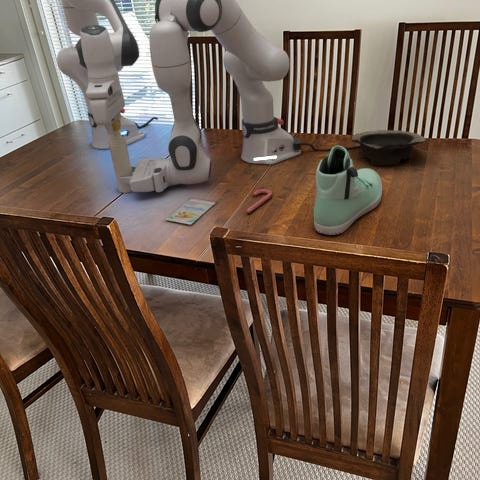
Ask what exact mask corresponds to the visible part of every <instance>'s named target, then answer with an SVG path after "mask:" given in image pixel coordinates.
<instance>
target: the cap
mask: <svg viewBox="0 0 480 480" xmlns="http://www.w3.org/2000/svg"><path fill="white" fill-rule="evenodd" d="M111 125H112V128H114V131H117V130H120V129H121V127H120V123H119V121H118V120H113V121H111Z"/></svg>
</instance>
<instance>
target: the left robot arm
mask: <svg viewBox="0 0 480 480" xmlns="http://www.w3.org/2000/svg"><path fill="white" fill-rule="evenodd" d="M60 1H61V5H62V9H63V13H64V17H65V18H64V19H65V21H66V25H67V28H68V30H69V31H70V32H71V33H72V34H73V35H75V36H78V37H80V38H79V39H78V40H77V42H76V44H75V45H73V46H72V45H71V46H69V47H64V48H62V49H60V50H59V51H58V53H57V55H56V63H57V67H58V69H59V71H60V72H61V73H62V74H63V75H65V77H68V78H69V79H71V80H72V81H73V82H74V83H75V84H76V85H77V86H78V88H79V89H80V91H81V93H82V95H83V98H84V101H85V104H86V109H87V118H88V122H89V125H90V127H91V128H90V129H91V137H92V138H91V140H92V141H91V147H92V148H94V149H98V150H107V149H109V150H110V148H109V139H110V136H111V135H112V134H113V133H114V128H112V125H111V121H113V120H118V121H119V123H120V127H121V129H120V130H119V133H121V135H122V136H123V137H124V139H125V141H126V143H127V146H128V145H131V144H132V143H135V142H137V141H139V140H141V139H143V138H145V137H146V135H145V133H144V132H142V131H140V130H139V129H142V128H145V127H146V126H148V125H149V124H151V122H152V121H154V120H156V121H158V120H159V117H156V116H153V117H152V118H150V119H149V120H148V121H146V123H143V124H142V125H138V123H137V122H135V121H134V120H131V119H129V118H127V117H125V116H123V115H122V114H125V112H126V109H125V105H126V103H125V97H124V93H123V89H122V86H121V81H120V75H119V72H121V71H122V70H123V69H124V67H133V65H134V64H135V63H136V62H137V61H138V60H139V58H140V47H139V44H138V41H137V39H136V38H135V35H134V33H133V32H132V31H131V30H130V28H129V26H128V25H127V23H126V21H125V18H124V17H123V14H122V13H121V11H120V8H119V7H118V5H117V3H116V1H115V0H60ZM98 15H100V16H103V17H105V18H106V19H107V20H108V21H107V22H108V23H109V24H110V26H111V28H112V30H113V32H111V33H109V31H108V28H107V27H106V26H104V25H100V22H99V19H98Z"/></svg>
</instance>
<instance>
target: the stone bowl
mask: <svg viewBox="0 0 480 480" xmlns="http://www.w3.org/2000/svg"><path fill="white" fill-rule="evenodd" d="M425 141H427V138H426V137H425V136H423V135H420V134H419V133H415V132H411V131H406V130H405V131H404V130H393V129H392V130H390V129H389V130H386V129H385V130H384V129H378V130H368V131H362V132H359V133H355V134H353V135H352V136H351V142H353V143H355V144H358V145H359V146H360V148H359V149H360V151H361V153H362V154H363V156H364V157H366V158H367V159H369V160H370V164H371V165H373V166H377V165H378V166H389V165H397V164H399V163H401V160H410V159H411V158H412V155H413V150H414V149H413V148H414V146H416V145H419V144H422V143H424V142H425Z"/></svg>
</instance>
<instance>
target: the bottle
mask: <svg viewBox="0 0 480 480" xmlns="http://www.w3.org/2000/svg"><path fill="white" fill-rule="evenodd" d="M109 152H110V153H109V154H110V157H111V162H112V166H113V171H114V174H115V175H114V176H115V179H116V184H117V188H118V189H117V190H118V192H119V193H122V194H128V193H132V192H133V191H131V188H130V184H128V183H120V182H119V177H120V176H125V177H129V176H132V175H133V173H134V172H132V168H131V166H132V165H131V158H130V153H129V148H128V145H127V143H126V141H125V139H124V137H123V136H122V135H121V133H119V130H117V131H114V133H113V134H112V135H111V136H110V139H109Z"/></svg>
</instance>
